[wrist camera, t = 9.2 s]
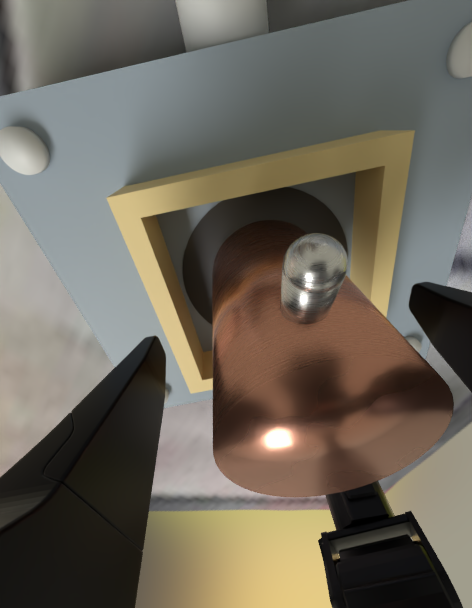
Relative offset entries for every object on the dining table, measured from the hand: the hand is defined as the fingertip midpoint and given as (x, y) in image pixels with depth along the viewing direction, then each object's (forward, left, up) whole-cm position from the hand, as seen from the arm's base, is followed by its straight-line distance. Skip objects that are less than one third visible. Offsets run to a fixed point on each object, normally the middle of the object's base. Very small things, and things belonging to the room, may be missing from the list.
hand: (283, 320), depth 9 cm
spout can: (0, 0, -4) cm, 4 cm away
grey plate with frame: (+1, 0, -8) cm, 8 cm away
